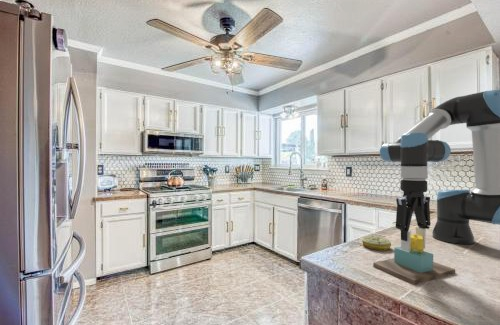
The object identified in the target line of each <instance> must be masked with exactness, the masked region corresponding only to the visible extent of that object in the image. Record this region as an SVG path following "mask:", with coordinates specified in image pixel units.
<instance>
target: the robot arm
mask: <svg viewBox="0 0 500 325" xmlns="http://www.w3.org/2000/svg"><path fill="white" fill-rule="evenodd" d="M458 124H459V125H460V124H466V125H465V126H466V129H469V131H471V140H472V142H471V143H472V155H473V168H474V170H473V171H474V183H475V187H474V188H473V189H471V191H470V189H444V190H439V191H438V192H437V194H436V223H435V225H434V227H433V230H432V238H434V239H436V240H438V241H441V242H445V243H449V244H450V243H451V244H458V245H473V244H475V236H474V234H473V231H472V228H471V226H470V221H475V222H480V223H486V224H491V225H500V89H492V90H485V91H481V92H476V93H471V94H466V95H461V96H456V97H453V98H450V99H448V100H446V101H444V102H442V103H440V104H439V105H437V106H435V107H434V108H432V110H430V111H429V112H428V113H427V114H426V117H425V118H424V119H422V120H421V121H420V122H418V123H417V124H416V125H414V126H413V127H412V128H411V129H409V130H408V131H407V132H404V133H403V134H402V135H401V136H400V137H399V138H397V139H396V140H395V141H394V142H388V143H383V144H382V145H381V146H380V148H379V156H380V158H381V160H383V161H384V162H390V163H399V162H400V178H401V180H400V186H399V187H400V189H399V190H400V191H401V192H403V194H402V197H396V199H395V200H396V215H395V216H396V217H395V228H396V229H398V230H400V247H401V249H402V250H405V251H408V252H410V251H411V235H412V232H411V230H410V225H411V223H412V219H413V218H412V217H413V213H414V216H415V221H416V224H417V226H416V227H415V234H417V235H419V236H422V237H423V243H424V250H425V249H426V234H427V233H426V230H429V229H430V226H431V209H430V203H431V202H430V201H431V197H430V196H425V194H424V193H426V192H428V181H427V179H428V163H431V162H432V163H438V162H444V161H445V160H448V158H450V156H451V152H452V150H451V147H450V145H449V144H448V143H447V142H446V141H443V140H439V139H436V140H435V139H434V140H433V139H431V138H432V137H433V136H435V135H436V134H437V133H438V132H439V131H441V130H443V129H447V128H448V127H449V126H453V125H458Z"/></svg>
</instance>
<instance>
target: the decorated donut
mask: <svg viewBox="0 0 500 325" xmlns="http://www.w3.org/2000/svg"><path fill="white" fill-rule="evenodd" d="M361 242H362V245H363V246H364V247H365V248H368V249H371V250H374V251H375V250H376V251H383V252H384V251H388V250H389V249H390V248H391V246H392V244H391V243H392V242H391V240H389V239H387V238H385V237H382V236H373V235H372V236H369V235H368V236H364V237H362V239H361Z"/></svg>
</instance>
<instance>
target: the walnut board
mask: <svg viewBox="0 0 500 325" xmlns="http://www.w3.org/2000/svg"><path fill="white" fill-rule="evenodd" d="M372 264H373V265H372V266H373V267H375V268H376V269H379V270H381V271H383V272H385V273H387V274H390V275H393V276H394V277H397V278H398V279H401V280H402V281H405V282H408V283H410V284H412V285H417V284H420V283H424V282H425V283H426V282H428V281H432V280H436V279H439V278H442V277H445V276H449V275H453V274H455V273H456V269H455V268H453V267H450V266H447V265H444V264H441V263H438V262H435V261H433V270H430V271H426V272H423V273H420V272H417V271H415V270H412V269H410V268H407V267H405V266H402V265H400V264H397V263H395V262H394V257H393V258H390V259H385V260H380V261H376V262H375V261H374V262H373V263H372Z"/></svg>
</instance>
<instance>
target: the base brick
mask: <svg viewBox="0 0 500 325" xmlns="http://www.w3.org/2000/svg"><path fill="white" fill-rule="evenodd" d="M393 251H394V254H393V255H394V257H393V258H394V262H395V263H397V264H400V265H402V266H405V267H407V268H410V269H412V270H415V271H417V272H420V273H423V272H426V271H430V270H433V262H434V253H431V252H428V251H425V250H423V251H422V253H421V252H418V251H417V250H413V251H410V252H408V251H405V250H402V249H401V246H397V247H394V250H393Z"/></svg>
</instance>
